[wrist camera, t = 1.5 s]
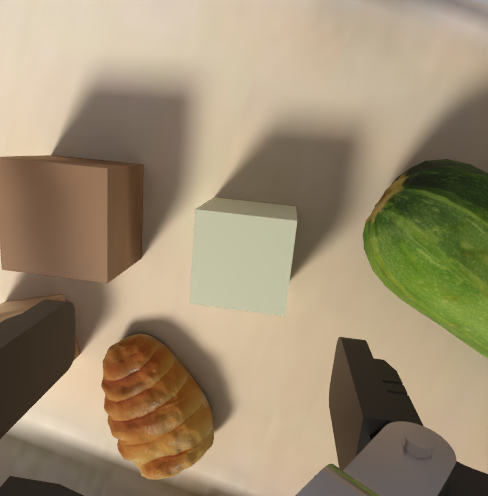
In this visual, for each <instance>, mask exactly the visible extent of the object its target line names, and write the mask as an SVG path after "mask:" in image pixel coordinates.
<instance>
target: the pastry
mask: <svg viewBox="0 0 488 496" xmlns="http://www.w3.org/2000/svg"><path fill="white" fill-rule="evenodd" d="M103 373H104V375H103V381H102V385H101V386H102V388H103V390H104V392H105V404H104V409H105V411H106V412H107V413H108V414H109V416H108V424H109V426H110V429H111V433H112V435H113V436H114V437H115V438H117V439H119V440H118V444H117V446H118V450H119V452H120V453H121V455H122V456H123V458H124V459H126V460H132V461H134V463H135V465H136V466H137V467H138V468H139V470H140V472H141V475H142V476H143V477H146V478H147V479H161V478H167V477H172V476H175V475H176V474H178V473H179V472H181V471H182V470H184V469H186V468H189V467H190V466H192V465H193V464H195V463H196V462H197V461H198V460H199V459H200V458H201V457H202V456H203V455H204V454H205V452H206V451H207V450H208V449H209V448H210V447H211V446H212V444H213V440H214V430H213V418H212V412H211V408H210V406H209V404H208V401H207V399H206V396H205V394H204V393H203V391H202V390H201V389H200V387H199V386H198V384H197V382H196V381H195V380H194V379H193V377H192V376H191V374H190V373H189V372H188V371H187V370H186V368H185V367H184V366H183V365H182V364H181V362H180V361H179V360H178V358H177V357H176V356H175V355H174V354H173V353H172V351H171V350H170V349H169V348H168V347H167V346H166V345H164V344H163V343H161V342H159V341H158V340H156V339H155V338H154V337H152V336H150V335H145V334H135V335H131V336H128V337H126V338H124V339H123V340H121V341H120V342H118V343H116V344H114V345H112V346H111V347H110V348H109V349H108V351H107V354H106V356H105V358H104V360H103Z"/></svg>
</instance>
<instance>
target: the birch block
mask: <svg viewBox="0 0 488 496" xmlns="http://www.w3.org/2000/svg"><path fill="white" fill-rule="evenodd" d="M44 299H50V300H58V301H65V298H64V295H56V296H48V297H40V298H32V299H24V300H16V301H8V302H4V303H2V304H0V322H2V321H4V320H5V319H7V318H10V317H13V316H16V315H19V314H21V313H23V312H25V311H26V310H28V309H30V308H31V307H33V306H34V305H36V304H38V303H39V302H41V301H42V300H44ZM75 346H76V349H75V356H74V360H75V359H76V358H77V357H78V356H79V355H80V351H79V347H78V344H77V340H76V337H75ZM74 360H73V361H74Z"/></svg>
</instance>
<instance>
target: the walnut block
mask: <svg viewBox="0 0 488 496" xmlns="http://www.w3.org/2000/svg"><path fill="white" fill-rule="evenodd" d="M143 167H144V165H142V164H132V163H122V162H112V161H102V160H92V159H82V158H71V157H61V156H51V155H50V156H13V157H0V249H1V263H2V270H9V271H17V272H24V273H32V274H40V275H48V276H56V277H63V278H71V279H79V280H87V281H94V282H102V283H108V282H110V281H111V280H112V279H114V278H115V277H117V276H118V275H119V274H121V273H122V272H123V271H125V270H126V269H128V268H129V267H130V266H132V265H133V264H134V263H136V262H137V261H139V260H140V259H141V254H142V211H143Z"/></svg>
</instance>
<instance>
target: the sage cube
mask: <svg viewBox="0 0 488 496" xmlns="http://www.w3.org/2000/svg"><path fill="white" fill-rule="evenodd" d="M296 228H297V211H296V206H289V205H280V204H271V203H262V202H253V201H244V200H235V199H226V198H217V197H214V198H212V199H211V200H209V201H208V202H206V203H204V204H203V205H201V206H200V207H198V208H197V209H195V224H194V240H193V255H192V271H191V287H190V303H189V304H195V305H203V306H210V307H217V308H225V309H232V310H240V311H247V312H255V313H262V314H269V315H277V316H284V317H285V312H286V304H287V297H288V289H289V281H290V274H291V266H292V258H293V251H294V243H295V235H296Z"/></svg>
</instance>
